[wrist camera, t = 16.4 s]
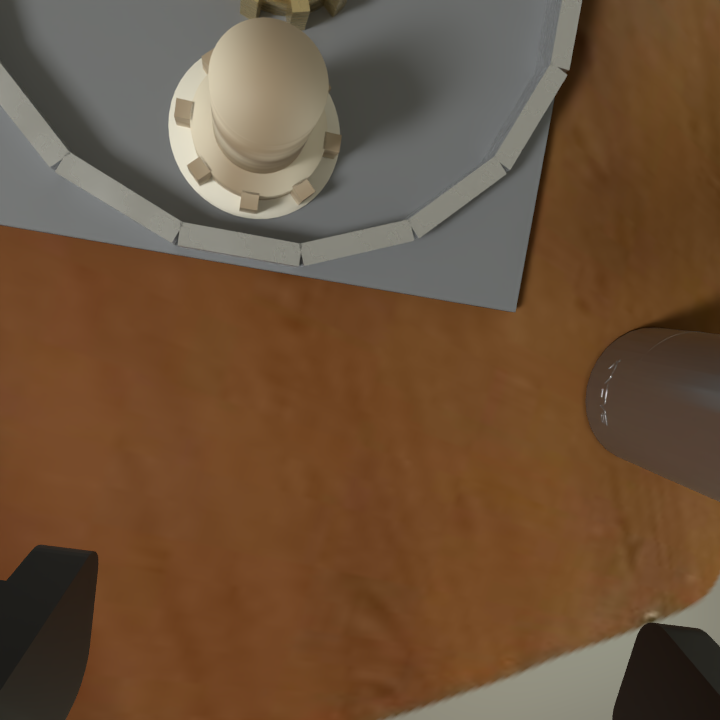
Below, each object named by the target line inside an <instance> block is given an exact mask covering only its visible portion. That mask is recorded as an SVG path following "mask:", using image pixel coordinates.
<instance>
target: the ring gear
mask: <svg viewBox="0 0 720 720" xmlns="http://www.w3.org/2000/svg"><path fill="white" fill-rule="evenodd" d="M581 4H582V0H547V3H546V8H545V14H544V19H543V25H542V30H541V36H540V42H539V47H538V53H537V58H536V64H535V69H534V75H533V77H532V78H531V80H530V82H529V83H528V85H527V87H526V88H525V90H524V92H523V93H522V95H521V97H520V98H519V100H518V102H517V103H516V105H515V106H514V108H513V110H512V111H511V113H510V115H509V116H508V118H507V120H506V121H505V123H504V125H503V126H502V128H501V130H500V131H499V133H498V135H497V136H496V138H495V140H494V141H493V143H492V145H491V146H490V148H489V150H488V151H487V153H486V155H485V156H484V158H483V160H482V161H481V163H480V164H479V165H477V166H476V167H474V168H473V169H472V170H470V171H469V172H468V173H466V174H465V175H463V176H462V177H461V178H459V179H458V180H457V181H455V182H454V183H453V184H451V185H450V186H448V187H447V188H446V189H444V190H443V191H442V192H440V193H439V194H437V195H436V196H435V197H433V198H432V199H431V200H429V201H428V202H427V203H425V204H424V205H422V206H421V207H420V208H418V209H417V210H416V211H414V212H413V213H411V214H410V215H409V216H407V217H406V218H405V219H403V220H402V221H399V222H395V223H390V224H386V225H381V226H377V227H372V228H368V229H363V230H359V231H354V232H350V233H345V234H341V235H336V236H332V237H327V238H323V239H318V240H314V241H309V242H305V243H295V242H289V241H284V240H278V239H273V238H267V237H262V236H256V235H251V234H246V233H240V232H235V231H229V230H224V229H218V228H213V227H207V226H202V225H196V224H191V223H185V222H182V221H180V220H178V219H177V218H175V217H174V216H172V215H170V214H169V213H167V212H166V211H164V210H162V209H161V208H159V207H157V206H156V205H154V204H153V203H151V202H149V201H148V200H146V199H145V198H143V197H141V196H140V195H138V194H136V193H135V192H133V191H132V190H130V189H128V188H127V187H125V186H124V185H122V184H120V183H119V182H117V181H115V180H114V179H112V178H111V177H109V176H107V175H106V174H104V173H103V172H101V171H99V170H98V169H96V168H94V167H93V166H91V165H90V164H88V163H86V162H85V161H83V160H82V159H80V158H78V157H77V156H75V154H74V153H73V152H72V150H71V149H70V148H69V147H68V145H67V144H66V143H65V141H64V140H63V139H62V138H61V136H60V135H59V134H58V132H57V131H56V130H55V129H54V127H53V126H52V125H51V123H50V122H49V121H48V119H47V118H46V117H45V116H44V114H43V113H42V112H41V110H40V109H39V108H38V107H37V105H36V104H35V103H34V101H33V100H32V99H31V98H30V96H29V95H28V94H27V92H26V91H25V90H24V89H23V87H22V86H21V85H20V83H19V82H18V81H17V79H16V78H15V77H14V76H13V74H12V73H11V72H10V70H9V69H8V68H7V67H6V65H5V64H4V63H3V61H2V60H1V59H0V105H1V106H2V108H3V109H4V110H5V111H6V113H7V114H8V115H9V116H10V118H11V119H12V120H13V122H14V123H15V124H16V125H17V127H18V128H19V129H20V130H21V132H22V133H23V134H24V135H25V137H26V138H27V139H28V141H29V142H30V143H31V144H32V146H33V147H34V148H35V149H36V151H37V152H38V153H39V154H40V156H41V157H42V158H43V160H44V161H45V162H46V163H47V165H48V166H49V167H50V168H51V169H53V170H54V171H55V172H56V173H57V174H59V175H60V176H62V177H63V178H65V179H66V180H68V181H70V182H71V183H73V184H75V185H76V186H78V187H80V188H81V189H83V190H85V191H86V192H88V193H89V194H91V195H93V196H94V197H96V198H98V199H99V200H101V201H103V202H104V203H106V204H108V205H109V206H111V207H113V208H114V209H116V210H117V211H119V212H121V213H122V214H124V215H126V216H127V217H129V218H131V219H132V220H134V221H136V222H137V223H139V224H141V225H142V226H144V227H145V228H147V229H149V230H150V231H152V232H154V233H155V234H157V235H159V236H160V237H162V238H164V239H165V240H167V241H168V242H170V243H172V244H173V245H176V243H177V241H178V246H179V247H180V248H186V249H192V250H198V251H204V252H209V253H215V254H221V255H227V256H232V257H238V258H244V259H250V260H256V261H261V262H267V263H273V264H279V265H284V266H290V267H298V266H299V265H300V267H303V266H307V265H311V264H316V263H320V262H324V261H329V260H333V259H337V258H342V257H346V256H350V255H355V254H359V253H363V252H368V251H372V250H376V249H381V248H385V247H390V246H394V245H398V244H403V243H407V242H411V241H414V240H415V239H419V238H420V237H422V236H423V235H424V234H426V233H427V232H429V231H430V230H431V229H433V228H434V227H435V226H437V225H438V224H439V223H441V222H442V221H443V220H445V219H446V218H448V217H449V216H450V215H452V214H453V213H454V212H456V211H457V210H458V209H460V208H461V207H462V206H464V205H465V204H467V203H468V202H469V201H471V200H472V199H473V198H475V197H476V196H477V195H479V194H480V193H481V192H483V191H484V190H486V189H487V188H488V187H490V186H491V185H492V184H494V183H495V182H496V181H498V180H499V179H500V178H502V177H503V176H505V175H506V172H507V171H509V170H511V168H512V166H513V165H514V163H515V161H516V160H517V158H518V156H519V155H520V153H521V151H522V150H523V148H524V146H525V145H526V143H527V141H528V140H529V138H530V136H531V135H532V133H533V131H534V130H535V128H536V126H537V125H538V123H539V121H540V120H541V118H542V116H543V115H544V113H545V112H546V110H547V108H548V107H549V105H550V103H551V102H552V100H553V98H554V97H555V95H556V93H557V92H558V90H559V88H560V87H561V85H562V83H563V82H564V80H565V78H566V77H567V74H565V73H566V72H567V71H569V69H570V64H571V59H572V53H573V48H574V42H575V37H576V31H577V26H578V21H579V15H580V10H581Z"/></svg>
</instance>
